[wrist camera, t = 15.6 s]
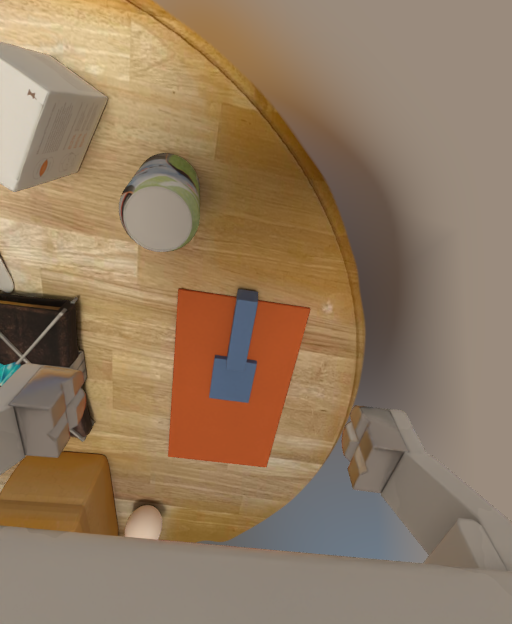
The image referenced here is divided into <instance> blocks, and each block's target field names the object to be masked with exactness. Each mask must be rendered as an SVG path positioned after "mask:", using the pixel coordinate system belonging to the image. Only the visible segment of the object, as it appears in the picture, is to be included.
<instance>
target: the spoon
mask: <svg viewBox="0 0 512 624" xmlns="http://www.w3.org/2000/svg"><path fill="white" fill-rule="evenodd" d="M13 288H14V283H13V280H12V278H11V276H10V274H9V272H8V270H7V268H6V266H5V265H4V263H3V261H2V259H1V257H0V289H1V290H2V291H3V292H5V293H11V292H12V291H13Z"/></svg>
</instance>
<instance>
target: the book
mask: <svg viewBox="0 0 512 624" xmlns="http://www.w3.org/2000/svg"><path fill="white" fill-rule="evenodd" d="M77 300H78V298H77V297H75V298H74V299H73V300H72V301H69V300H60V299H49V298H37V297H27V296H18V295H10V294H2V293H0V387H1V386H2V385H3V384H4V383H5V382H6V381H7V380H8V379H9V378H10V377H11V376H12V375H13V374H14V373H15V372H16V371H17V370H18V369H19V368H20V367H21V366H22V365H24V364H26V363H31V364H38V365H44V366H45V365H47V366H54V367H60V368H67V369H74V370H80V371H82V372H83V374H84V382H85V380H86V379H87V375H86V368H85V361H84V353H83V351H79V350H78V344H77V326H76V304H75V302H76V301H77ZM83 384H84V383H83ZM83 384H82V385H83ZM81 388H82V389H83V387H82V386H81ZM94 423H95V422H94V421H93V420H92V419H91V418H90V415H89V411H88V408H87V405H86V407H85V410H84V413H83V416H82V418H81V420H80V422H79V424H78V425H77V426H76V427H74V428H72V429H71V430H69V433H70V437H76V438H79V439H80V440H81V441H82V442H83V441H84V440H85V438H86V437H87V435H88V434H89V433H90V431H91V429H92V426H93V425H94Z"/></svg>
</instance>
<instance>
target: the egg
mask: <svg viewBox="0 0 512 624" xmlns="http://www.w3.org/2000/svg"><path fill="white" fill-rule="evenodd" d="M161 530H162V517H161V514H160V512H159V511H158V510H157V508H155V507H154V506H151V505H144V506H141V507H139V508H138V509H136V510H135V511H134V512H133V513H132V514H131V515H130V517H129V519H128V521H127V523H126V527H125V537H134V538H145V539H156V540H158V538H159V536H160V533H161Z"/></svg>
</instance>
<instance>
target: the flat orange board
mask: <svg viewBox="0 0 512 624" xmlns="http://www.w3.org/2000/svg"><path fill="white" fill-rule="evenodd" d="M236 298H237V297H233V296H226V295H220V294H213V293H206V292H200V291H193V290H186V289H179V290H178V305H177V321H176V337H175V354H174V370H173V386H172V402H171V419H170V435H169V451H168V457H177V458H186V459H195V460H205V461H214V462H223V463H232V464H241V465H250V466H259V467H266V466H267V463H268V459H269V456H270V452H271V449H272V445H273V441H274V438H275V434H276V431H277V427H278V423H279V420H280V416H281V413H282V409H283V406H284V402H285V398H286V395H287V391H288V388H289V384H290V380H291V377H292V373H293V370H294V366H295V363H296V359H297V355H298V352H299V348H300V345H301V341H302V337H303V334H304V330H305V327H306V323H307V320H308V316H309V312H310V308H307V307H300V306H293V305H287V304H280V303H273V302H267V301H260V300H258V306H257V311H256V316H255V321H254V326H253V331H252V336H251V341H250V346H249V351H248V356H247V359H248V360H255V361H257V366H256V371H255V375H254V380H253V385H252V389H251V394H250V398H249V403H245V402H237V401H229V400H221V399H213V398H209V393H210V386H211V379H212V372H213V365H214V358H215V355H220V356H227V354H228V348H229V341H230V335H231V329H232V323H233V317H234V310H235V304H236Z"/></svg>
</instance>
